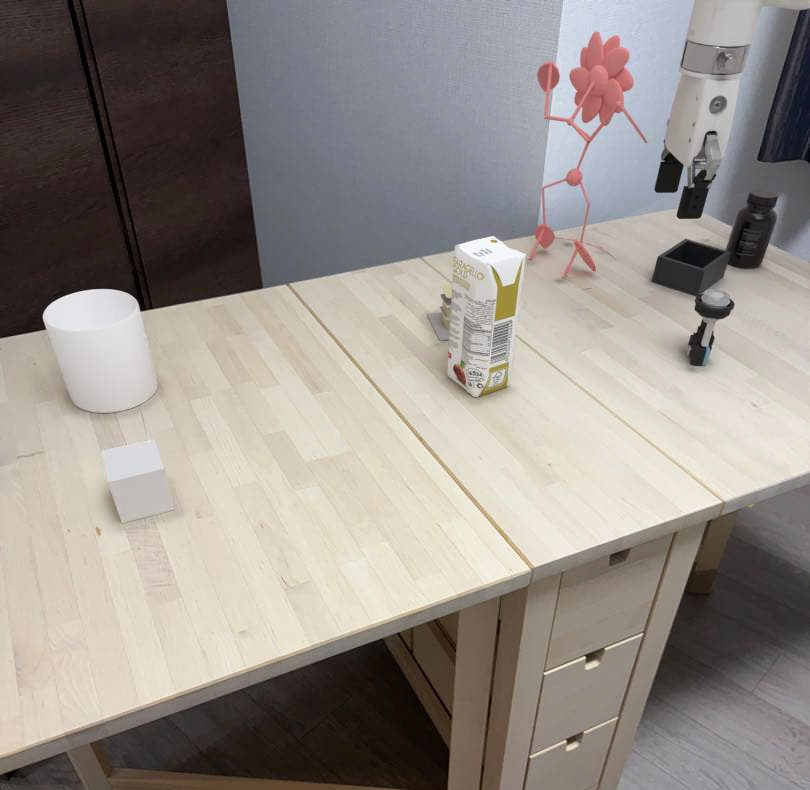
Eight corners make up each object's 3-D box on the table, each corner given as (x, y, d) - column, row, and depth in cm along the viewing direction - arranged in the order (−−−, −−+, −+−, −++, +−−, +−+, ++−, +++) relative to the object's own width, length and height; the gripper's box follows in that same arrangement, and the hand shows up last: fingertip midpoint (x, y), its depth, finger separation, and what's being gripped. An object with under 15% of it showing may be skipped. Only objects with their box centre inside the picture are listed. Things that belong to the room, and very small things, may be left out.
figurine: (593, 297, 126) (641, 55, 101) (497, 245, 141) (519, 23, 117) (656, 276, 132) (715, 43, 108) (558, 228, 147) (590, 15, 123)
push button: (674, 343, 115) (693, 281, 108) (710, 346, 114) (730, 283, 107) (681, 365, 110) (700, 302, 103) (718, 368, 109) (740, 304, 103)
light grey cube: (175, 509, 85) (164, 468, 81) (121, 523, 84) (107, 482, 79) (165, 479, 89) (154, 438, 85) (114, 491, 88) (100, 450, 83)
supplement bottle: (769, 263, 136) (793, 195, 128) (745, 272, 134) (769, 203, 125) (738, 250, 141) (760, 184, 132) (714, 259, 138) (735, 191, 129)
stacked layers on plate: (439, 340, 114) (441, 307, 111) (426, 313, 121) (427, 281, 117) (502, 334, 116) (505, 301, 112) (485, 308, 122) (488, 276, 118)
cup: (121, 359, 109) (99, 280, 101) (175, 385, 104) (157, 304, 96) (52, 394, 102) (22, 313, 94) (107, 423, 97) (81, 340, 89)
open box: (723, 276, 132) (731, 251, 129) (697, 296, 126) (704, 271, 123) (678, 263, 136) (685, 238, 133) (651, 281, 130) (657, 256, 127)
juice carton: (474, 403, 102) (486, 268, 89) (439, 374, 107) (446, 243, 94) (517, 387, 105) (535, 255, 92) (481, 360, 110) (493, 231, 97)
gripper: (773, 75, 84) (726, 228, 96) (717, 44, 97) (682, 182, 108) (708, 76, 84) (669, 229, 96) (661, 44, 96) (631, 183, 108)
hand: (676, 204), depth 102 cm, fingers open, 9 cm apart
